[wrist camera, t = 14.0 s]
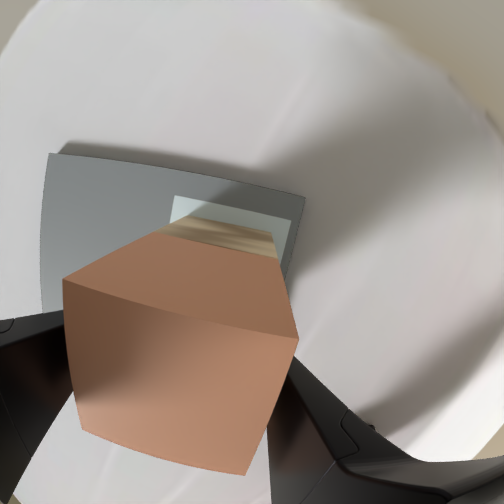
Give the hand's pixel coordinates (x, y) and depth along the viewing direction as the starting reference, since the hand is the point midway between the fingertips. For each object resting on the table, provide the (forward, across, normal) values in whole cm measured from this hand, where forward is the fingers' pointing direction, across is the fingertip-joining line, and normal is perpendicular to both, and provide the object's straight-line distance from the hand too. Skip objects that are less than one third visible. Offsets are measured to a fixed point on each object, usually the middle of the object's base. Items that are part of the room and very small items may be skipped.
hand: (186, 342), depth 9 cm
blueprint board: (+10, +5, +4) cm, 12 cm away
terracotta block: (+3, 0, 0) cm, 3 cm away
